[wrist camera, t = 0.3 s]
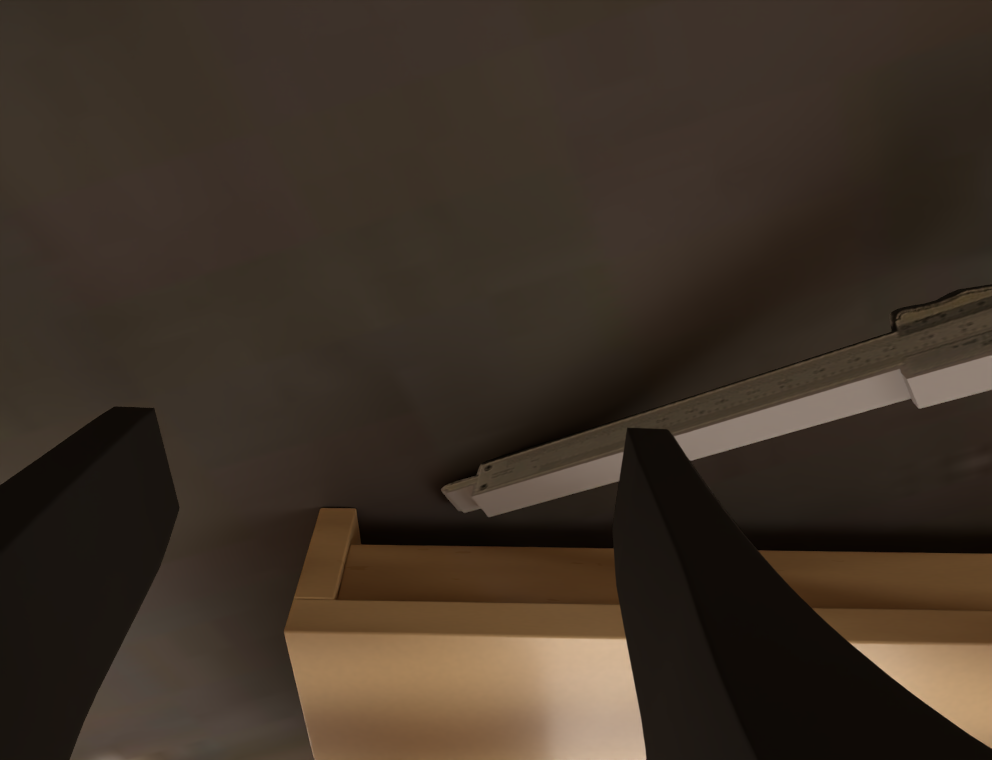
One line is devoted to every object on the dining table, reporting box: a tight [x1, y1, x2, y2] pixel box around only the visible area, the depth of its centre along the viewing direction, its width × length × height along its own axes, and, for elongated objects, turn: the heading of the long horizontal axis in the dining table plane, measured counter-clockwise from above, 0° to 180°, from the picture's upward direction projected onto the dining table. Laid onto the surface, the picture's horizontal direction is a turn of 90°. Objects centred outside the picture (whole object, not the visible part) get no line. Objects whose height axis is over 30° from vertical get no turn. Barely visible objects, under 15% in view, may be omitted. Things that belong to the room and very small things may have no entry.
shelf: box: [284, 508, 992, 760], centre depth 27 cm, size 10×26×5 cm, turn 91°
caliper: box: [441, 284, 992, 517], centre depth 21 cm, size 20×1×6 cm, turn 122°
